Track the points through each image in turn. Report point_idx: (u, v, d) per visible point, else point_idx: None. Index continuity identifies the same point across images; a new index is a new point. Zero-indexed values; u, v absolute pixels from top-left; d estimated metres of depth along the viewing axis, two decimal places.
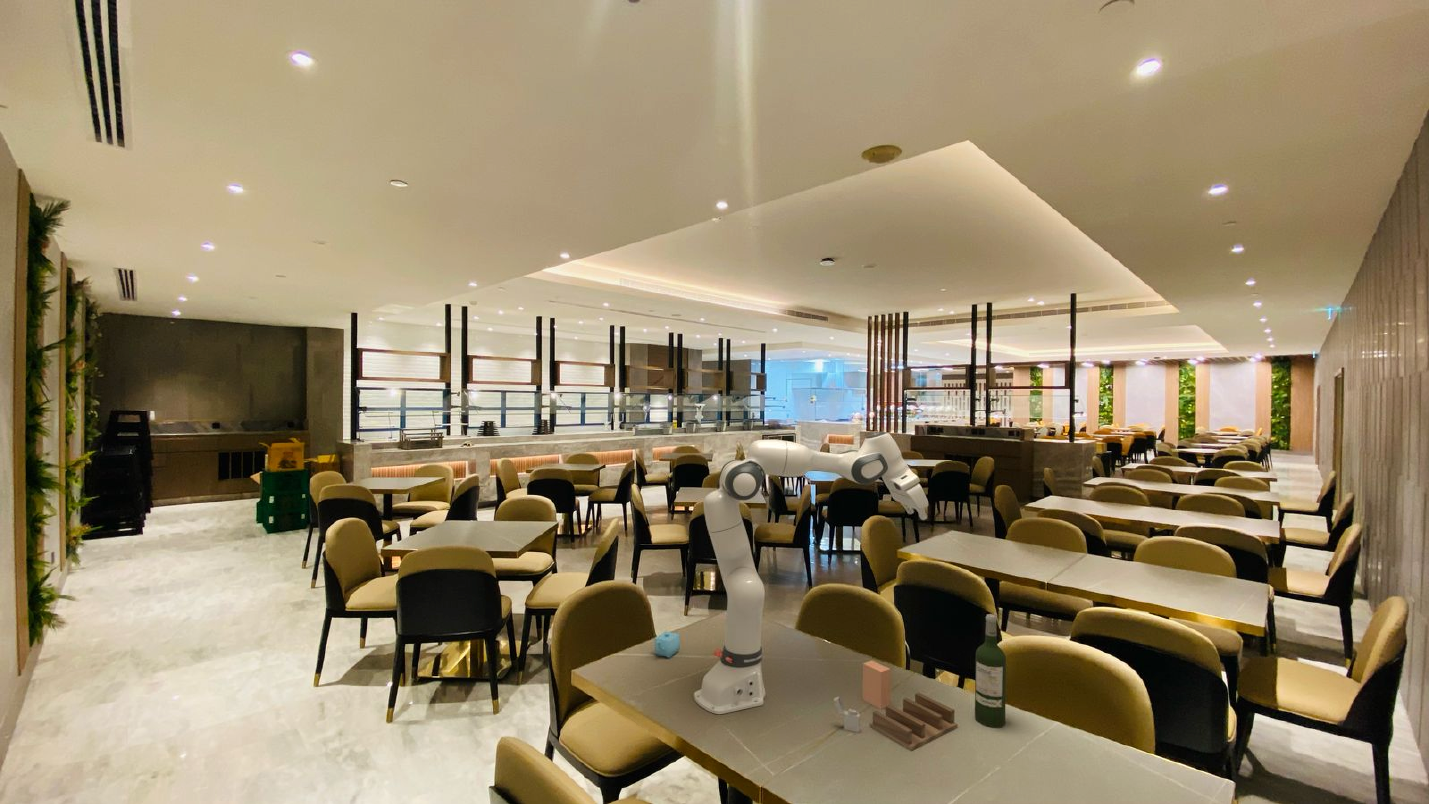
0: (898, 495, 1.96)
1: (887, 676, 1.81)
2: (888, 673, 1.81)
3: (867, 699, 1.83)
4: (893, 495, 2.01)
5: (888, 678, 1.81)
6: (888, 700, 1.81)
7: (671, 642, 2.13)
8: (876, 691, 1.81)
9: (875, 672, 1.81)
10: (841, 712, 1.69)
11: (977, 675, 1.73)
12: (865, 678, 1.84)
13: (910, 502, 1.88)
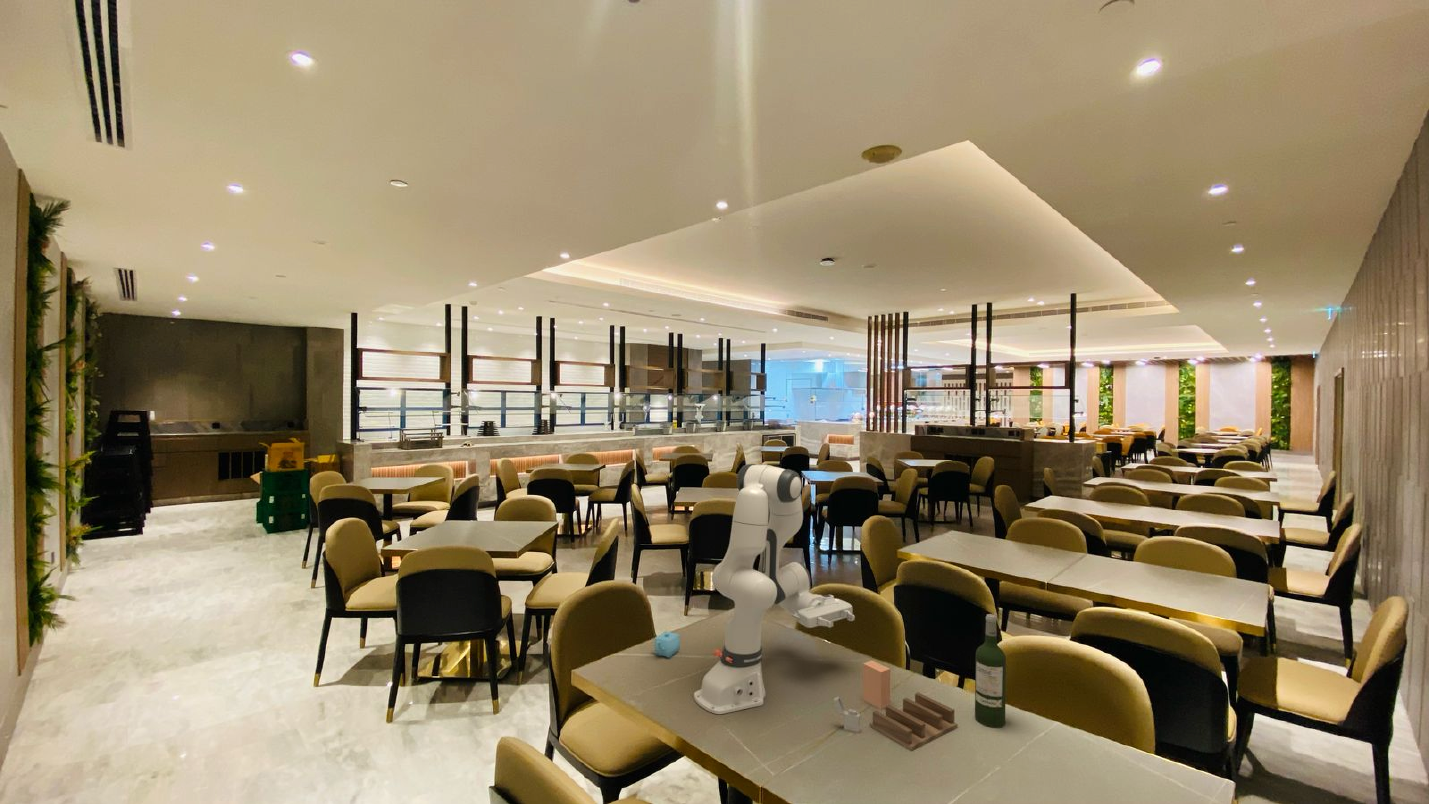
0: (819, 610, 2.00)
1: (887, 676, 1.81)
2: (888, 673, 1.81)
3: (867, 699, 1.83)
4: (809, 614, 1.96)
5: (888, 678, 1.81)
6: (888, 700, 1.81)
7: (671, 642, 2.13)
8: (876, 691, 1.81)
9: (875, 672, 1.81)
10: (841, 712, 1.69)
11: (977, 675, 1.73)
12: (865, 678, 1.84)
13: (839, 605, 2.03)
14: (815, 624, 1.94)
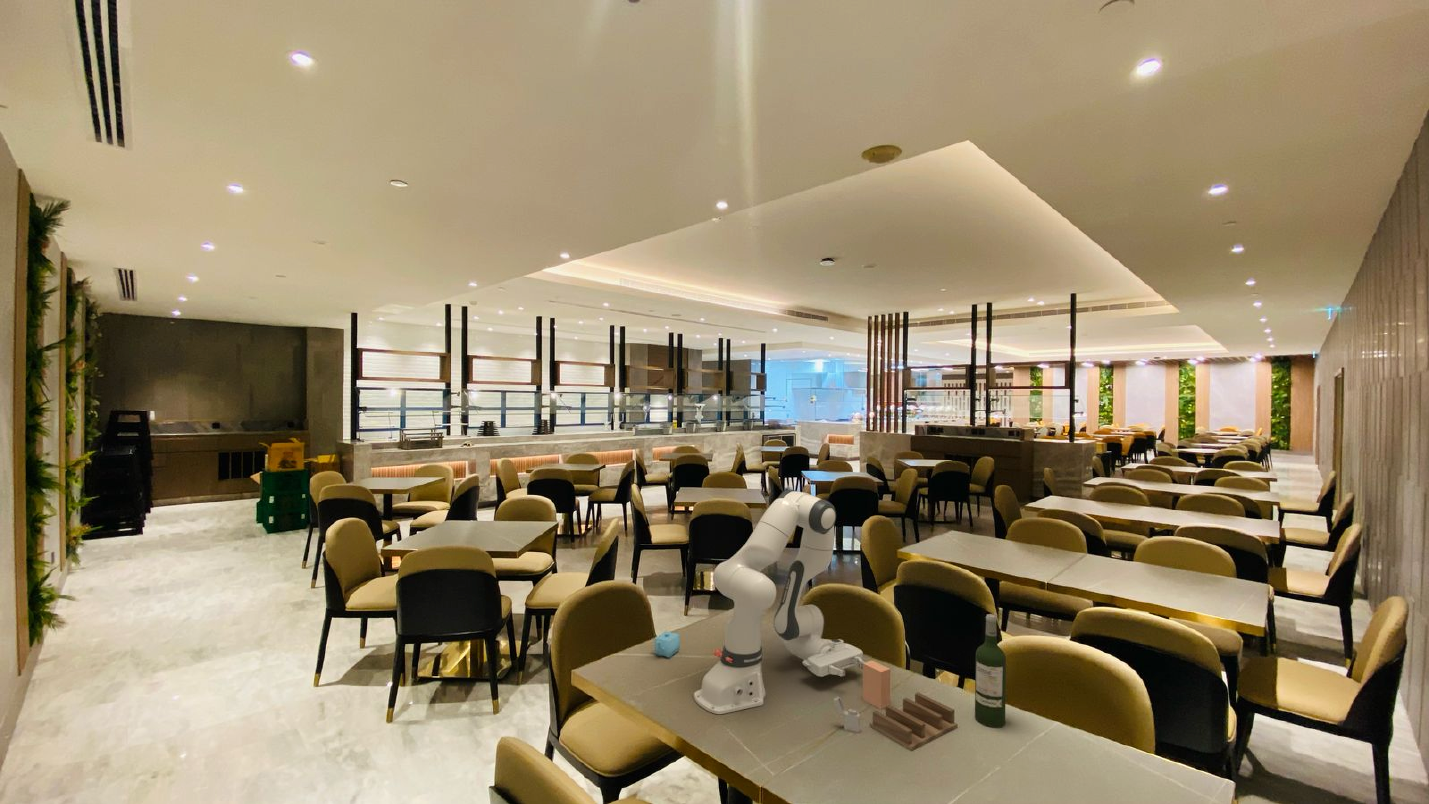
0: (830, 657, 1.96)
1: (887, 676, 1.81)
2: (888, 673, 1.81)
3: (867, 699, 1.83)
4: (820, 661, 1.92)
5: (888, 678, 1.81)
6: (888, 700, 1.81)
7: (671, 641, 2.13)
8: (876, 691, 1.81)
9: (875, 672, 1.81)
10: (841, 712, 1.69)
11: (977, 675, 1.73)
12: (865, 678, 1.84)
13: (849, 652, 2.00)
14: (826, 672, 1.90)
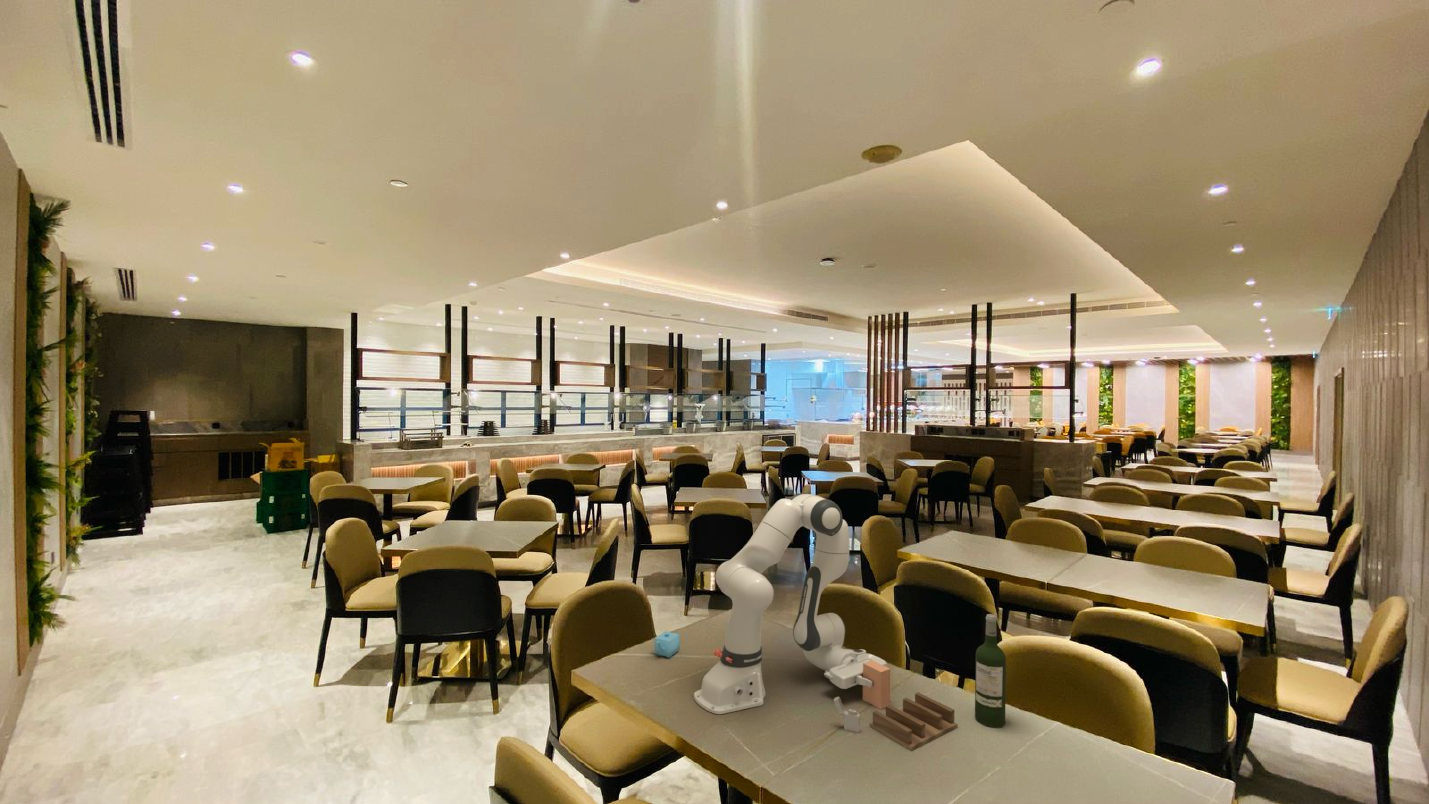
0: (852, 668, 1.88)
1: (887, 676, 1.81)
2: (888, 673, 1.81)
3: (867, 699, 1.83)
4: (843, 673, 1.84)
5: (888, 678, 1.81)
6: (888, 700, 1.81)
7: (671, 641, 2.13)
8: (876, 691, 1.81)
9: (875, 672, 1.81)
10: (841, 712, 1.69)
11: (977, 675, 1.73)
12: None
13: None
14: (850, 685, 1.82)
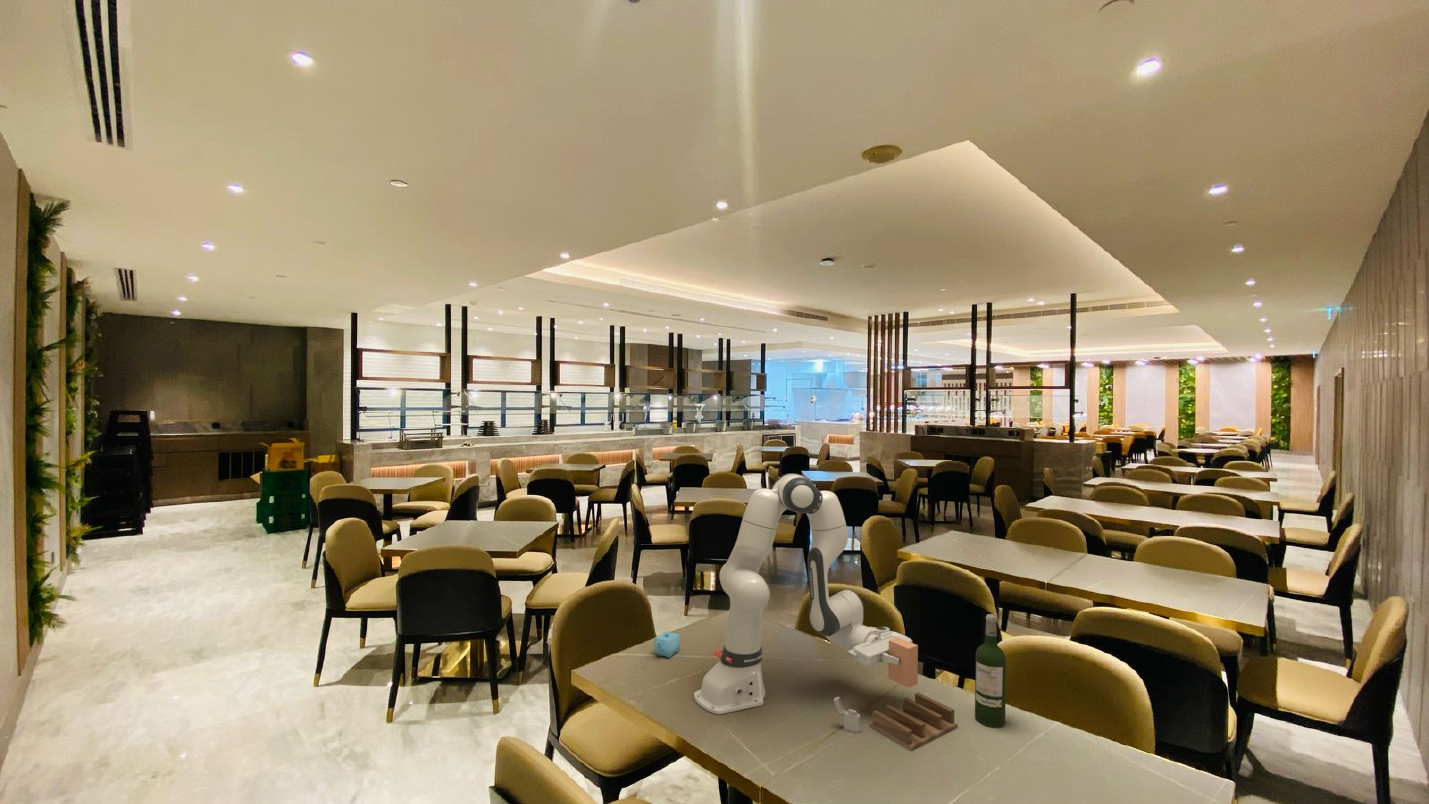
0: (877, 645, 1.79)
1: (915, 653, 1.72)
2: (915, 649, 1.72)
3: (893, 677, 1.75)
4: (868, 651, 1.75)
5: (916, 655, 1.72)
6: (916, 678, 1.72)
7: (671, 641, 2.13)
8: (903, 669, 1.72)
9: (902, 649, 1.72)
10: (841, 712, 1.69)
11: (977, 675, 1.73)
12: None
13: None
14: (875, 663, 1.73)
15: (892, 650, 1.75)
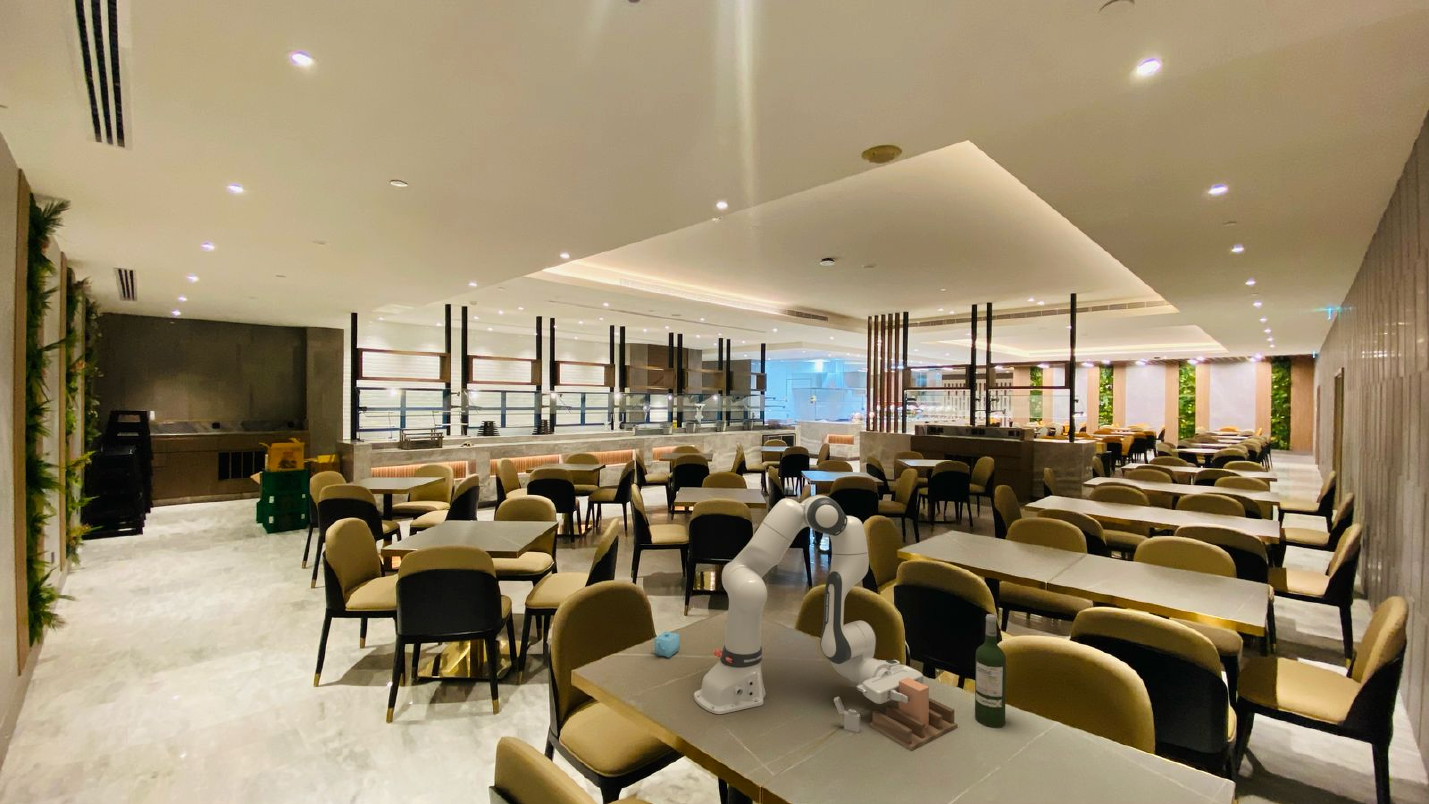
0: (887, 680, 1.74)
1: (926, 695, 1.67)
2: (926, 691, 1.67)
3: None
4: (878, 686, 1.70)
5: (927, 697, 1.68)
6: (927, 721, 1.68)
7: (671, 642, 2.13)
8: (913, 711, 1.67)
9: (913, 691, 1.68)
10: (841, 712, 1.69)
11: (977, 675, 1.73)
12: None
13: (908, 675, 1.78)
14: (885, 699, 1.69)
15: (902, 691, 1.70)
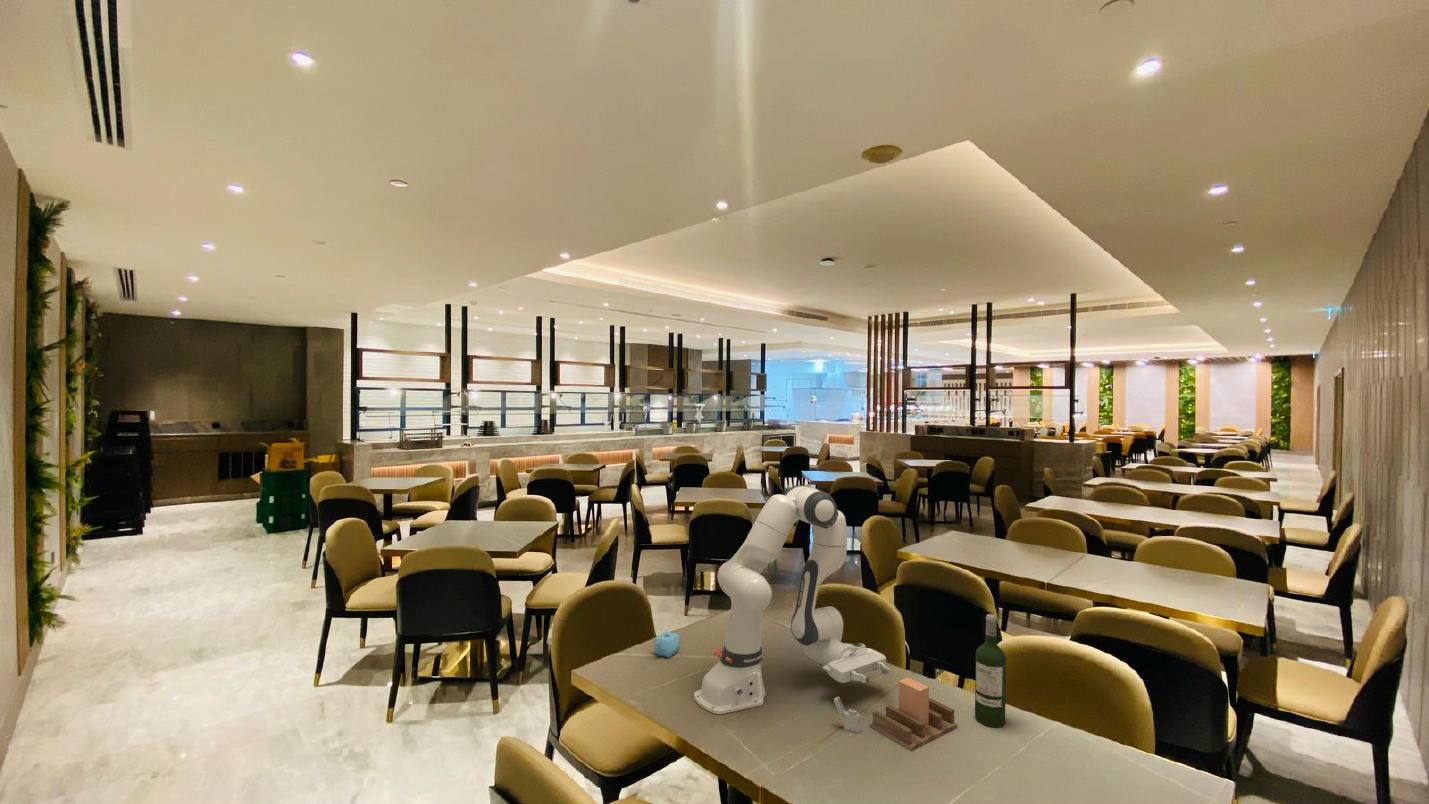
0: (851, 662, 1.85)
1: (926, 695, 1.67)
2: (926, 691, 1.67)
3: None
4: (841, 667, 1.81)
5: (927, 697, 1.68)
6: (927, 721, 1.68)
7: (671, 642, 2.13)
8: (913, 711, 1.67)
9: (913, 691, 1.68)
10: (841, 712, 1.69)
11: (977, 675, 1.73)
12: (901, 697, 1.71)
13: (872, 657, 1.89)
14: (848, 679, 1.80)
15: (902, 691, 1.70)
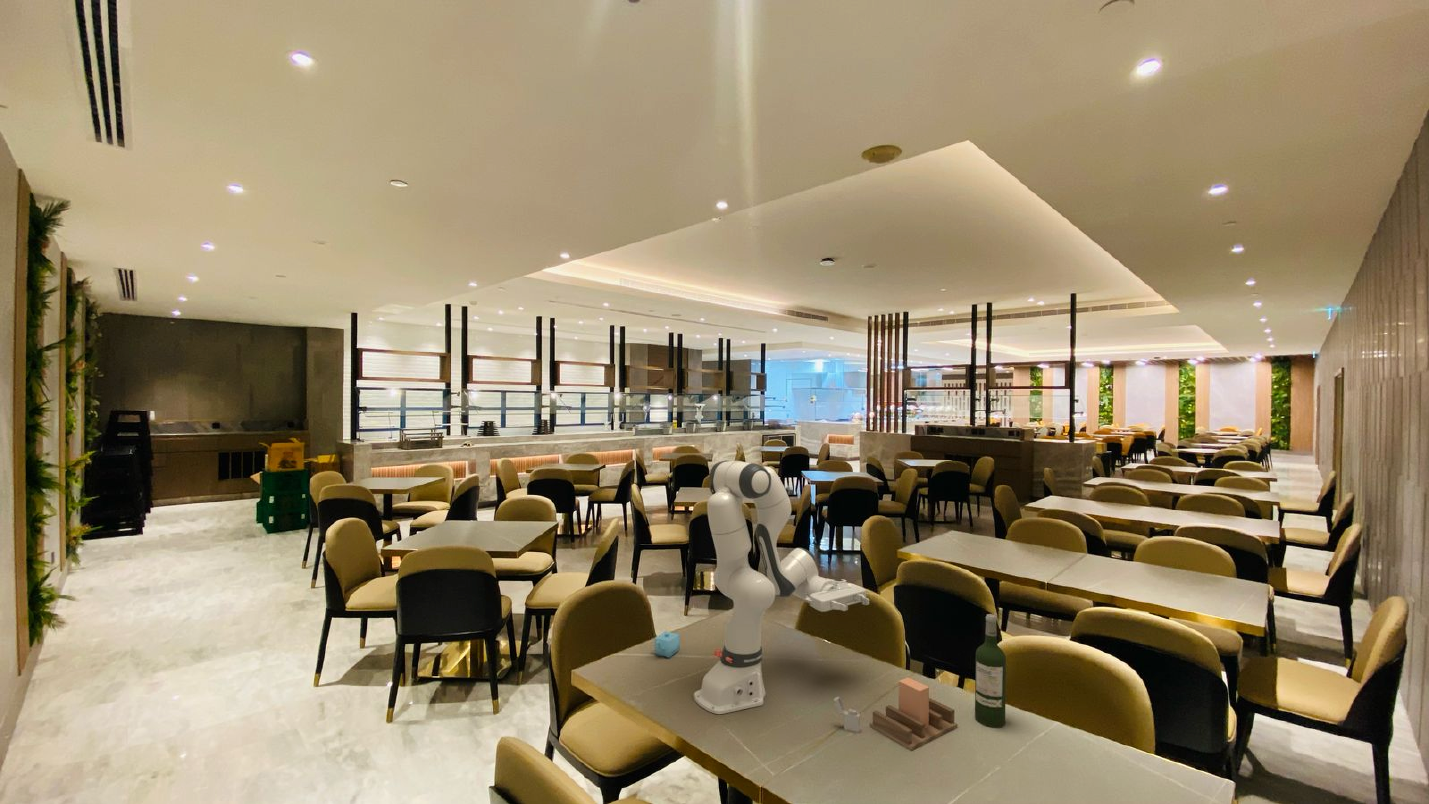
0: (832, 593, 1.92)
1: (926, 695, 1.67)
2: (926, 691, 1.67)
3: None
4: (822, 597, 1.88)
5: (927, 697, 1.68)
6: (927, 721, 1.68)
7: (671, 642, 2.13)
8: (913, 711, 1.67)
9: (913, 691, 1.68)
10: (841, 712, 1.69)
11: (977, 675, 1.73)
12: (901, 697, 1.71)
13: (852, 589, 1.96)
14: (829, 608, 1.87)
15: (902, 691, 1.70)
